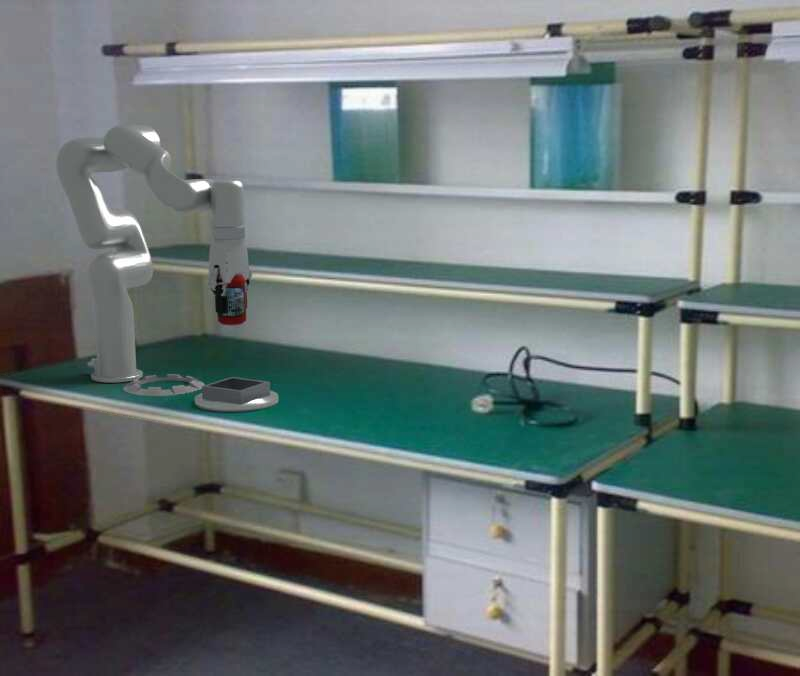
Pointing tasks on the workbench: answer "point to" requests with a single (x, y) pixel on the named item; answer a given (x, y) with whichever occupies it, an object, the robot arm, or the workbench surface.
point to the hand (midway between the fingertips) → (231, 309)
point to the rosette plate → (236, 395)
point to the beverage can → (235, 302)
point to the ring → (156, 391)
